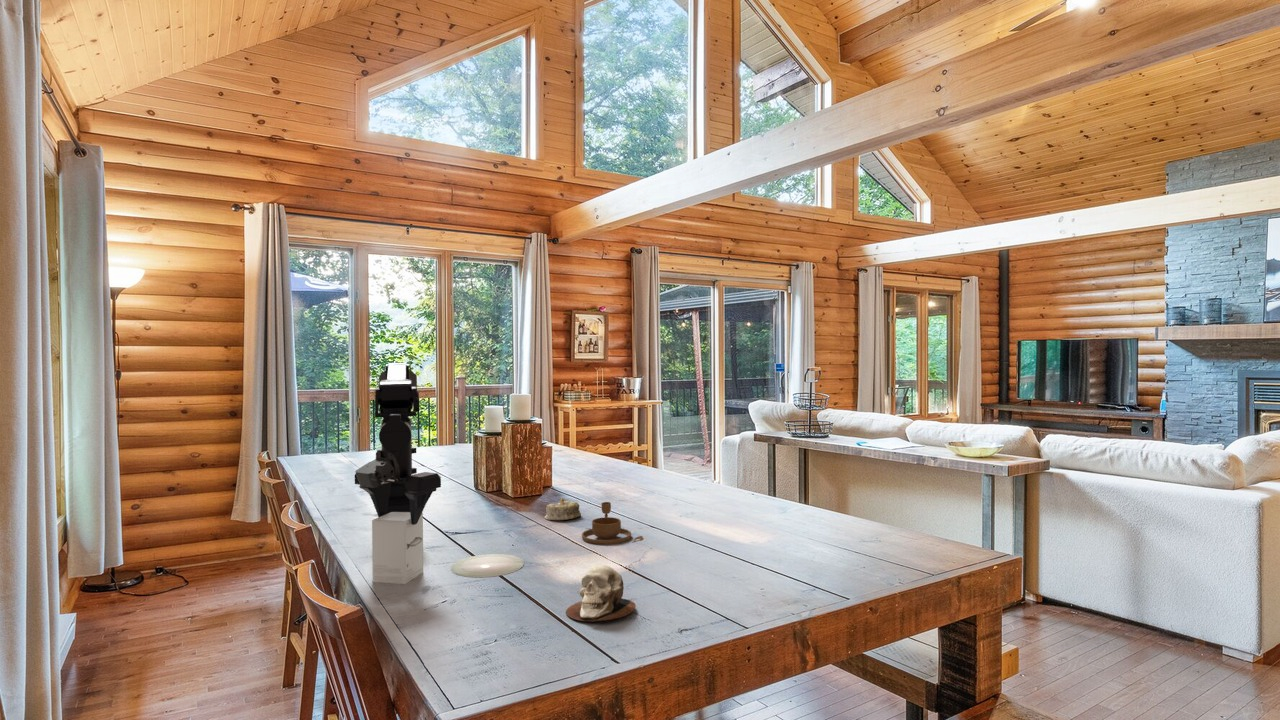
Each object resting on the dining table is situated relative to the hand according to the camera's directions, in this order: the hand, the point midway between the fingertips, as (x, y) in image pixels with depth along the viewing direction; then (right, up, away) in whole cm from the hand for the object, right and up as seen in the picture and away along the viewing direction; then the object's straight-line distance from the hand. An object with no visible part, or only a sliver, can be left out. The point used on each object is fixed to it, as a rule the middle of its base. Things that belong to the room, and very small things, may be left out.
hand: (397, 521), depth 141 cm
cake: (+28, -11, +50) cm, 58 cm away
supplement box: (0, -12, 0) cm, 12 cm away
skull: (+45, -13, -21) cm, 51 cm away
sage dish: (+16, -11, +7) cm, 21 cm away
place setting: (+42, -11, +32) cm, 54 cm away
